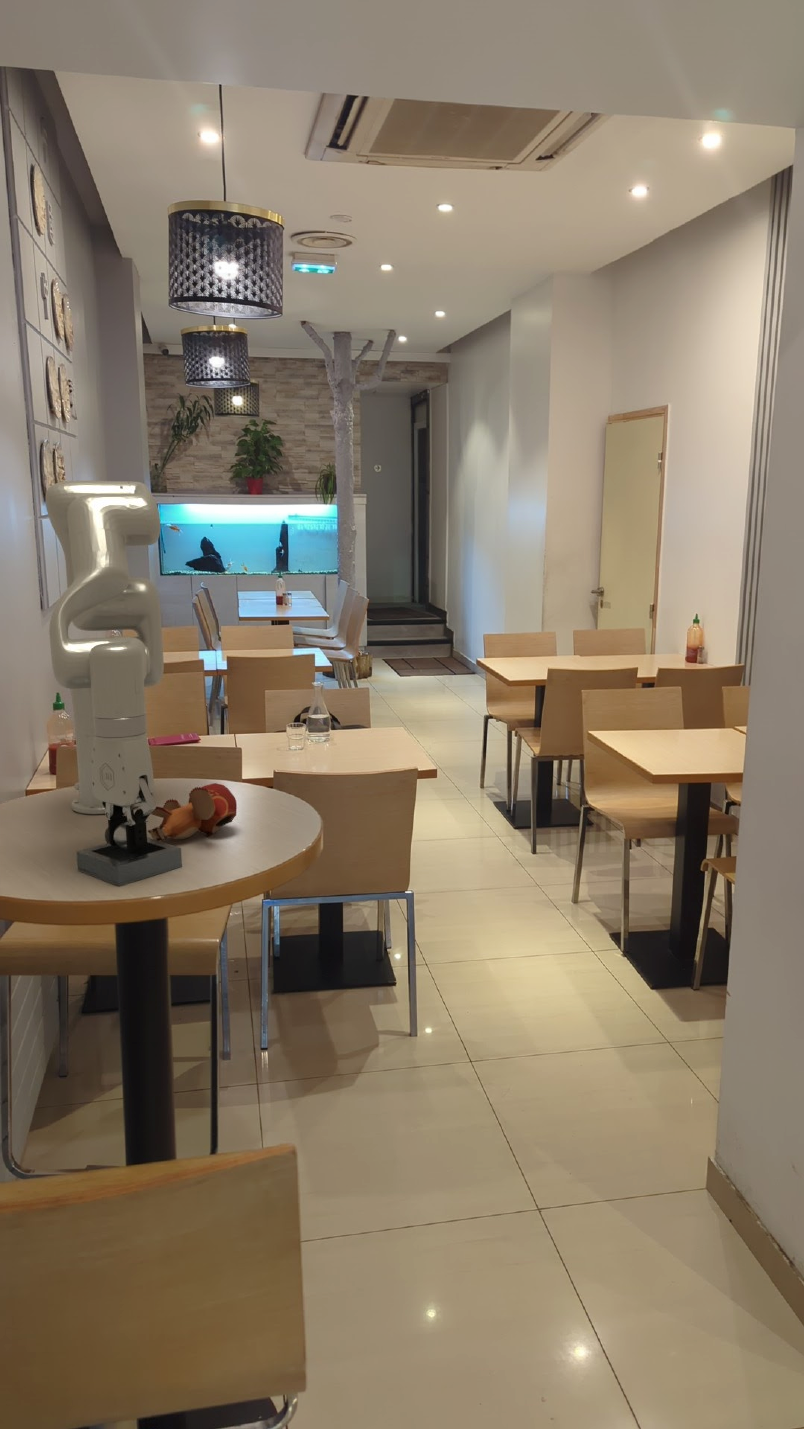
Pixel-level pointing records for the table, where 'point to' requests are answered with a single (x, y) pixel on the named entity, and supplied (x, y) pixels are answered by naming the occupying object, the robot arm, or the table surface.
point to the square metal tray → (128, 861)
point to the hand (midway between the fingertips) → (128, 844)
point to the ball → (107, 835)
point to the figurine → (196, 813)
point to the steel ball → (121, 835)
